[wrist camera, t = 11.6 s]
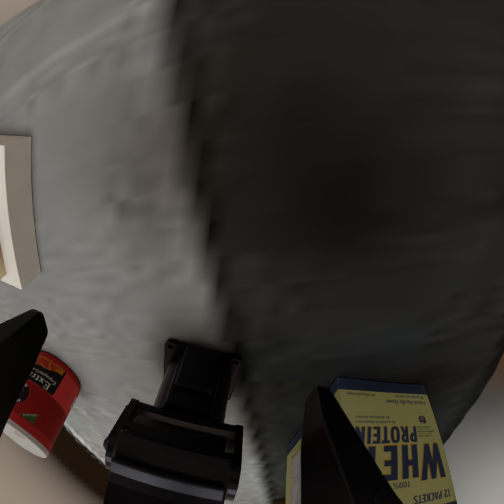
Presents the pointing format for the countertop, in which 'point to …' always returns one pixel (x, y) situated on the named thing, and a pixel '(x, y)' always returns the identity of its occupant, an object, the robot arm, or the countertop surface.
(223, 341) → the countertop surface
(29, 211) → the white flat block
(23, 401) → the canned food
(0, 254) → the pallet
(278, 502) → the olive oil
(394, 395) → the protein box
